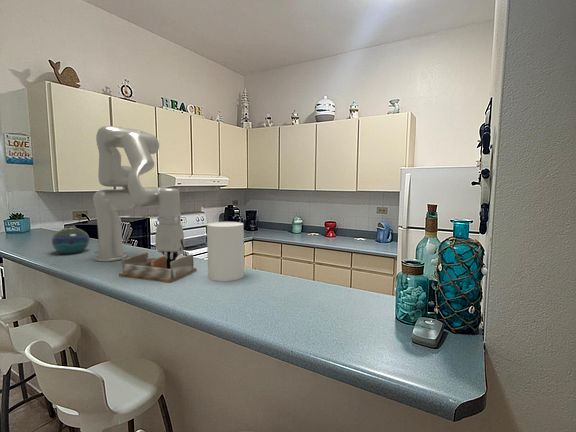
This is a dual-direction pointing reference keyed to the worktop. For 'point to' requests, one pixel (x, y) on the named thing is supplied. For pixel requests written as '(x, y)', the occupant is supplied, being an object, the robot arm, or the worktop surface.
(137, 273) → the grey brown open box
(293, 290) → the worktop surface
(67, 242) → the vase
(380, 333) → the worktop surface
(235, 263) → the canister
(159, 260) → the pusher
